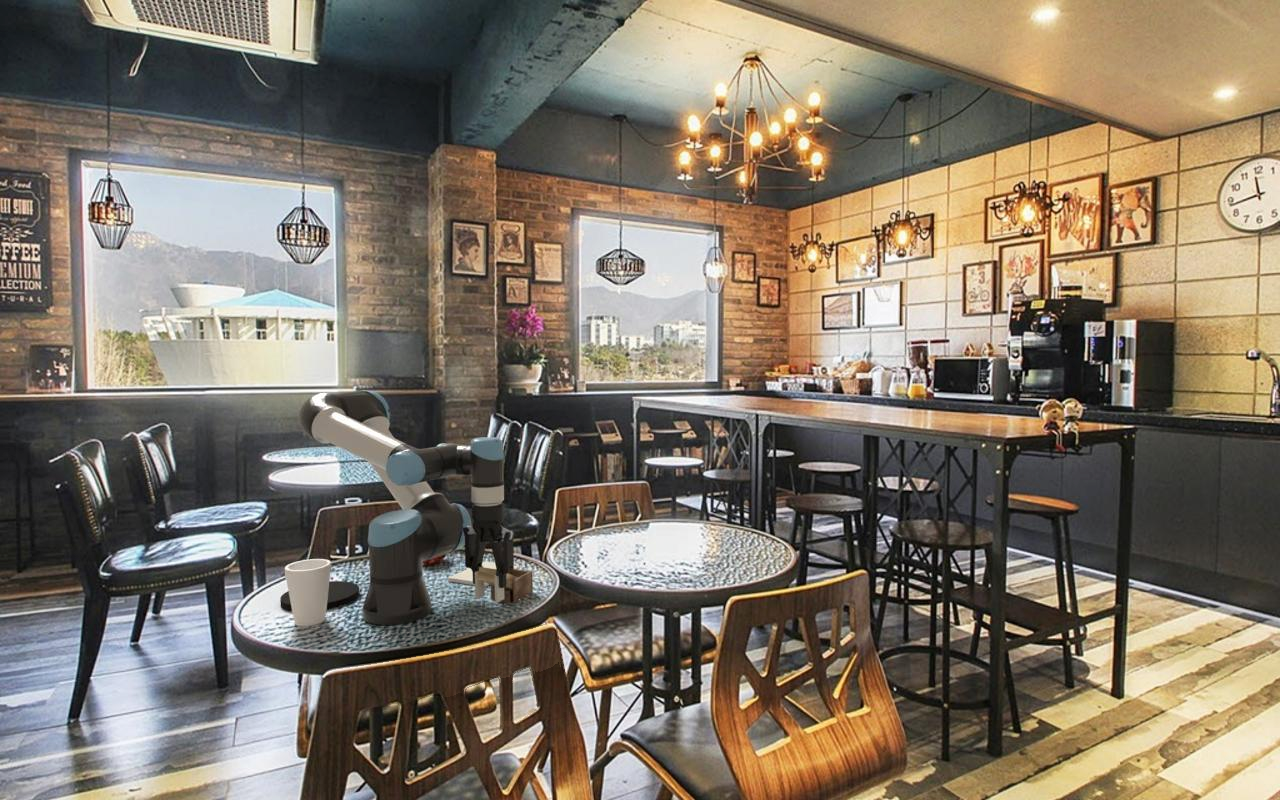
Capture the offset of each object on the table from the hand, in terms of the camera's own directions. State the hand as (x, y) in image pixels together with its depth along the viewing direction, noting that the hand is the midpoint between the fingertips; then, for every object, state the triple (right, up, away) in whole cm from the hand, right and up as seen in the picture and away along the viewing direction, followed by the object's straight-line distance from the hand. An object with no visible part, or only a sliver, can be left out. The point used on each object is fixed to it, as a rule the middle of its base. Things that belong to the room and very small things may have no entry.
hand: (489, 598), depth 163 cm
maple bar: (+2, +2, +4) cm, 5 cm away
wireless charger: (-44, -3, +7) cm, 44 cm away
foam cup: (-40, -3, -7) cm, 40 cm away
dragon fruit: (-25, -1, +37) cm, 45 cm away
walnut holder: (+4, -2, +8) cm, 9 cm away
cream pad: (-7, -1, +25) cm, 26 cm away
